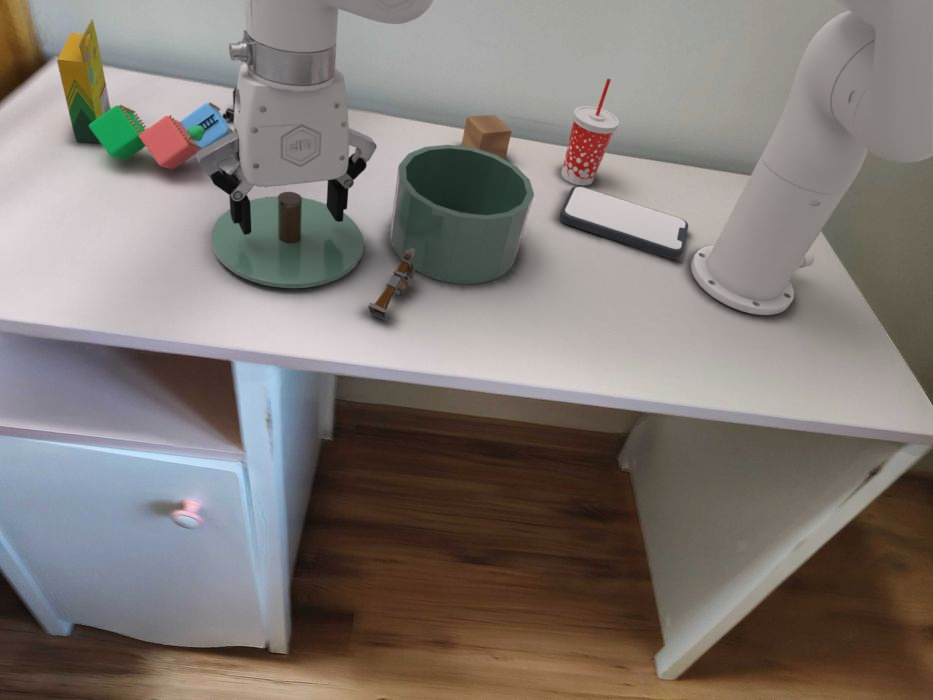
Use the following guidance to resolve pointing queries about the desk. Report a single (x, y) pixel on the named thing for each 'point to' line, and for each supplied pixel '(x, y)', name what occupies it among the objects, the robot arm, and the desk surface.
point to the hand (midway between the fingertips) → (290, 220)
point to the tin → (459, 213)
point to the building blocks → (160, 134)
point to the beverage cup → (588, 142)
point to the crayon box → (83, 82)
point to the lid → (288, 243)
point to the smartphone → (625, 222)
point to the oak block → (487, 135)
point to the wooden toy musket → (394, 285)
